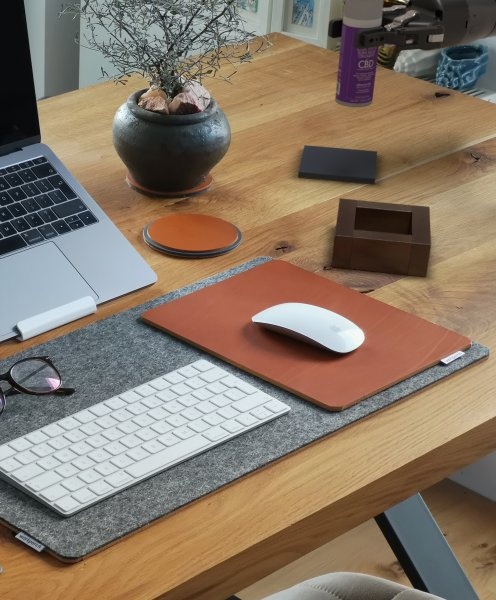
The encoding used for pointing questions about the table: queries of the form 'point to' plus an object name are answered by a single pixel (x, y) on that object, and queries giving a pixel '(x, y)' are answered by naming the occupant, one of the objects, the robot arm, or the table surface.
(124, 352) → the table surface
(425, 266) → the stand
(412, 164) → the table surface
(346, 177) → the mat
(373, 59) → the container
